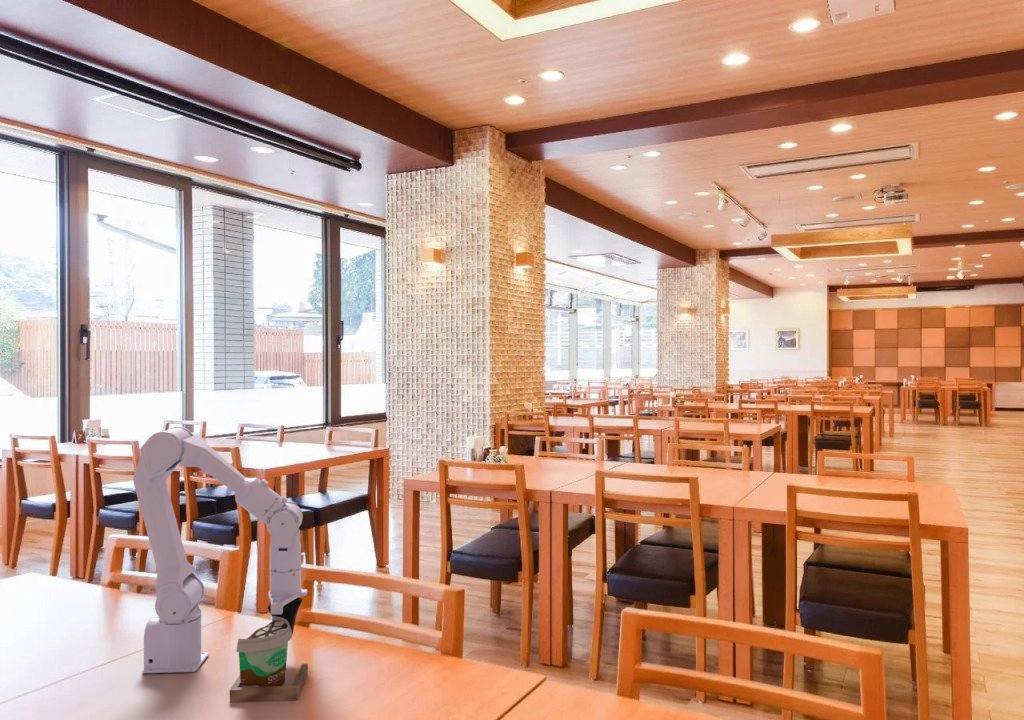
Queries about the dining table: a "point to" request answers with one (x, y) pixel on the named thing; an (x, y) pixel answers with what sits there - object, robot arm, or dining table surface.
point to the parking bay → (269, 690)
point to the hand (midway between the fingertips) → (285, 639)
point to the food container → (265, 655)
